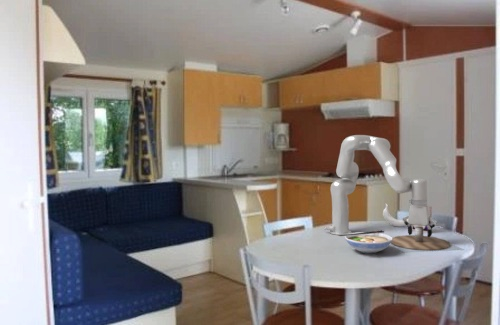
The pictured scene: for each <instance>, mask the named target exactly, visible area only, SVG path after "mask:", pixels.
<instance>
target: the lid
mask: <svg viewBox="0 0 500 325" xmlns="http://www.w3.org/2000/svg"><path fill="white" fill-rule="evenodd" d="M392 237H393V238H392V241H391V244H392V245H394V246H397V247H401V248H405V249H412V250H424V251H427V252H435V251H434V250H443V249H447V248H449V247H450V244H451V243H450V242H449V241H448V240H445V239H443V238H439V237H437V238H435V237H436V236H434V237H428V235H424V232H423V227H415V231H414V235H413V234H411V235H409V234H408V235H397V236H392ZM392 245H391V246H392Z"/></svg>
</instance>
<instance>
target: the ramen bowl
mask: <svg viewBox="0 0 500 325" xmlns="http://www.w3.org/2000/svg"><path fill="white" fill-rule="evenodd" d="M339 237H344V238H345V240H346V242H347V243H348V244H349V246H350V247H351V248H353V249H354V250H356V251H358V252H360V253H363V254H376V253H378V252H380V251H383V250H385V249H386V248H388V247H389V246H390V243H391V241H392V237H393V236H391V235H389V234H385V231H384V230H372V231H365V232H364V231H361V232H359V231H357V232H351V233H350V234H347V235H339Z"/></svg>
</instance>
